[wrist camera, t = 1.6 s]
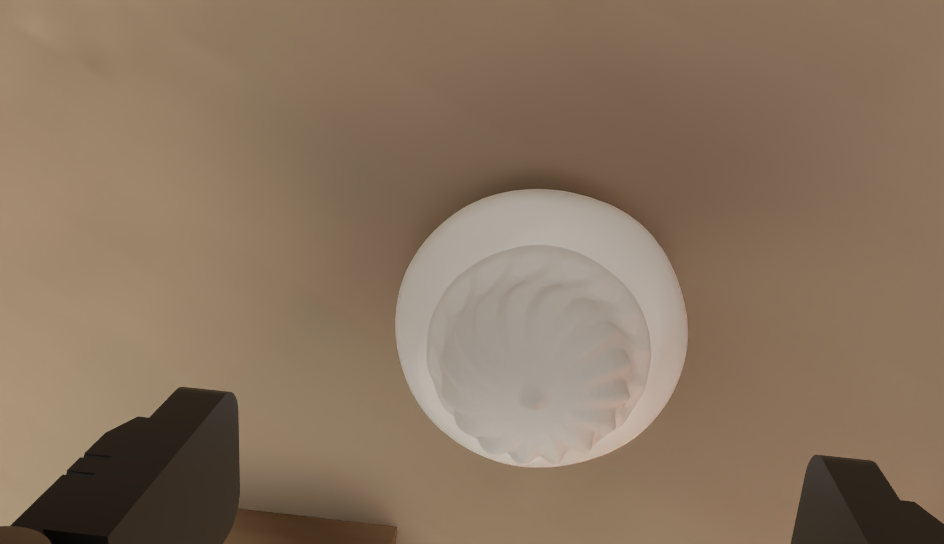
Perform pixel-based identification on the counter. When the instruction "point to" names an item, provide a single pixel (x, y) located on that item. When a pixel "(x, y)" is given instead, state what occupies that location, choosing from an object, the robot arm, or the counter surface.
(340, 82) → the counter surface
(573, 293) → the white rounded piece
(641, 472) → the counter surface
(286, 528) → the tower bottom
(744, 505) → the counter surface
